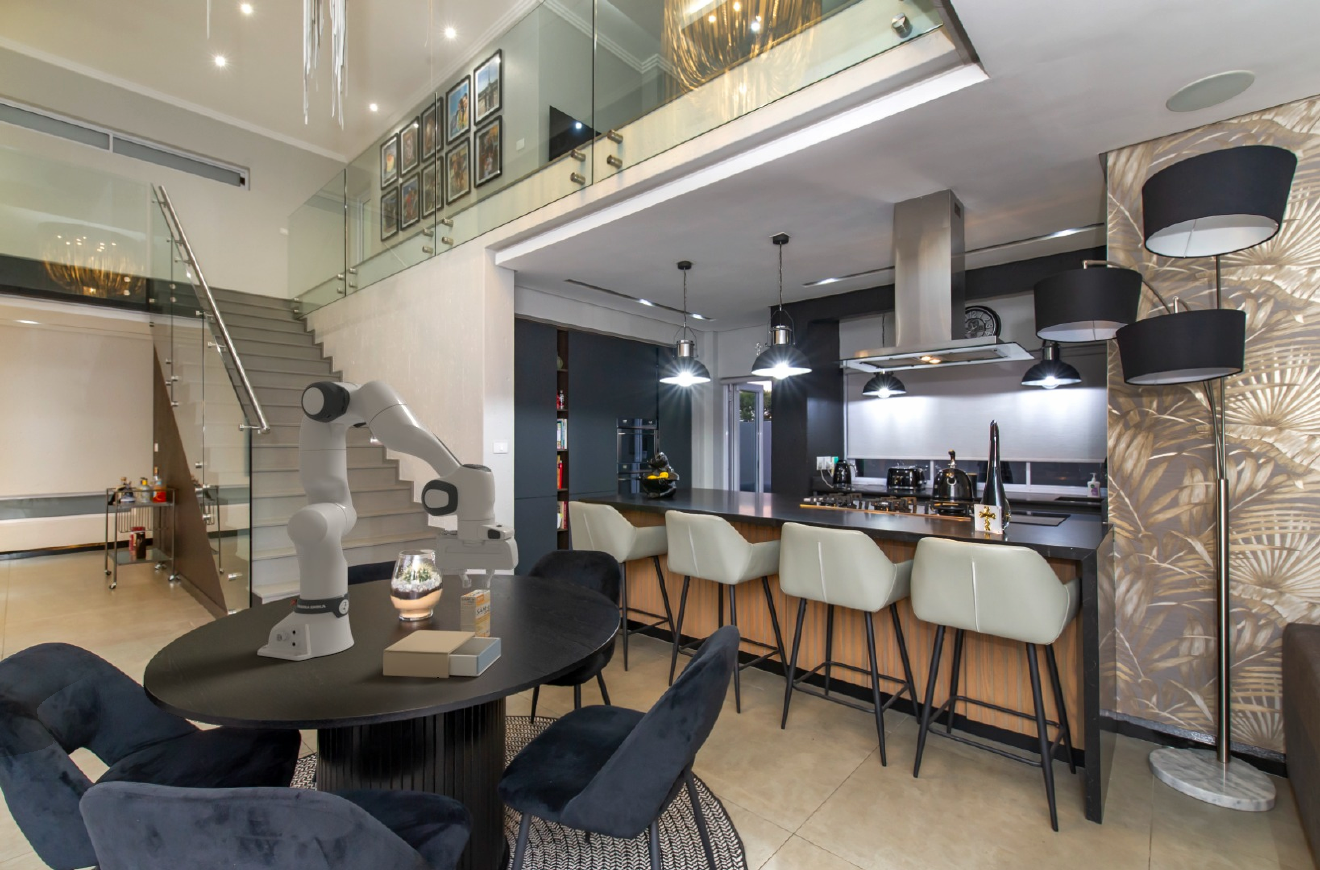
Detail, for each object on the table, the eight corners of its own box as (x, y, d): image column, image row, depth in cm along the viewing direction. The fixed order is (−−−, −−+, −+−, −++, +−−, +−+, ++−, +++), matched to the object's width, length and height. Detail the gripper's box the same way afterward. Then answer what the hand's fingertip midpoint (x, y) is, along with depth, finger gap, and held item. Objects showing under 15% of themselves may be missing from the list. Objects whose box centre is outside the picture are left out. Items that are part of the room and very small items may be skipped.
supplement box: (476, 646, 153) (476, 596, 154) (459, 644, 154) (459, 596, 154) (491, 636, 161) (491, 589, 162) (475, 635, 162) (475, 588, 163)
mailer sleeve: (383, 675, 134) (383, 650, 134) (417, 652, 149) (417, 629, 149) (447, 677, 132) (447, 652, 132) (476, 654, 147) (476, 631, 147)
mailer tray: (417, 673, 134) (417, 654, 134) (444, 653, 147) (444, 636, 147) (478, 676, 132) (478, 656, 132) (500, 655, 145) (500, 637, 145)
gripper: (429, 531, 138) (429, 589, 137) (510, 532, 135) (511, 591, 135) (442, 528, 144) (442, 583, 144) (520, 529, 142) (520, 585, 141)
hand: (476, 587), depth 139 cm, fingers open, 3 cm apart
